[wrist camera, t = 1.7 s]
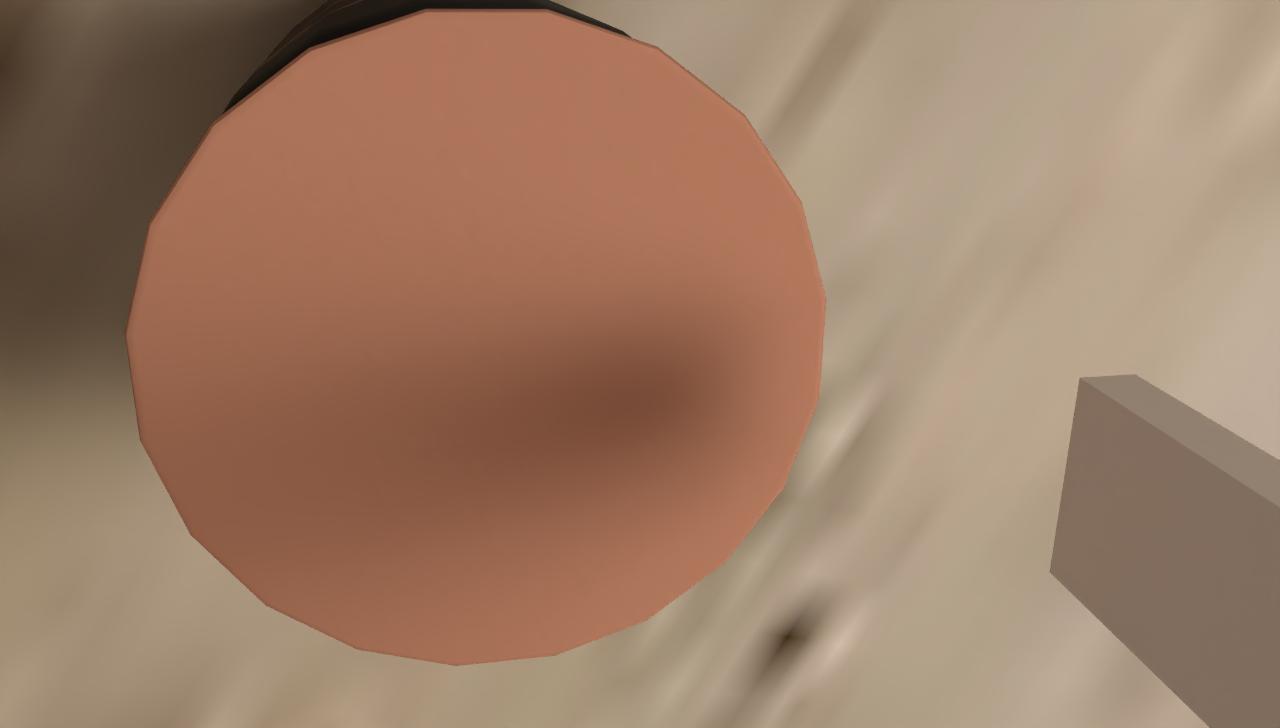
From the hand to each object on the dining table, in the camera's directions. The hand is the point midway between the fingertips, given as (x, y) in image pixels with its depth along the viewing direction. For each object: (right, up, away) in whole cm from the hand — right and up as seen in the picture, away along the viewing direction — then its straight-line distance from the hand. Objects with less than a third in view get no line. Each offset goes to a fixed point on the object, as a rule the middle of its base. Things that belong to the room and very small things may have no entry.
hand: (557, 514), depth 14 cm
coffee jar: (-5, +8, +21) cm, 23 cm away
